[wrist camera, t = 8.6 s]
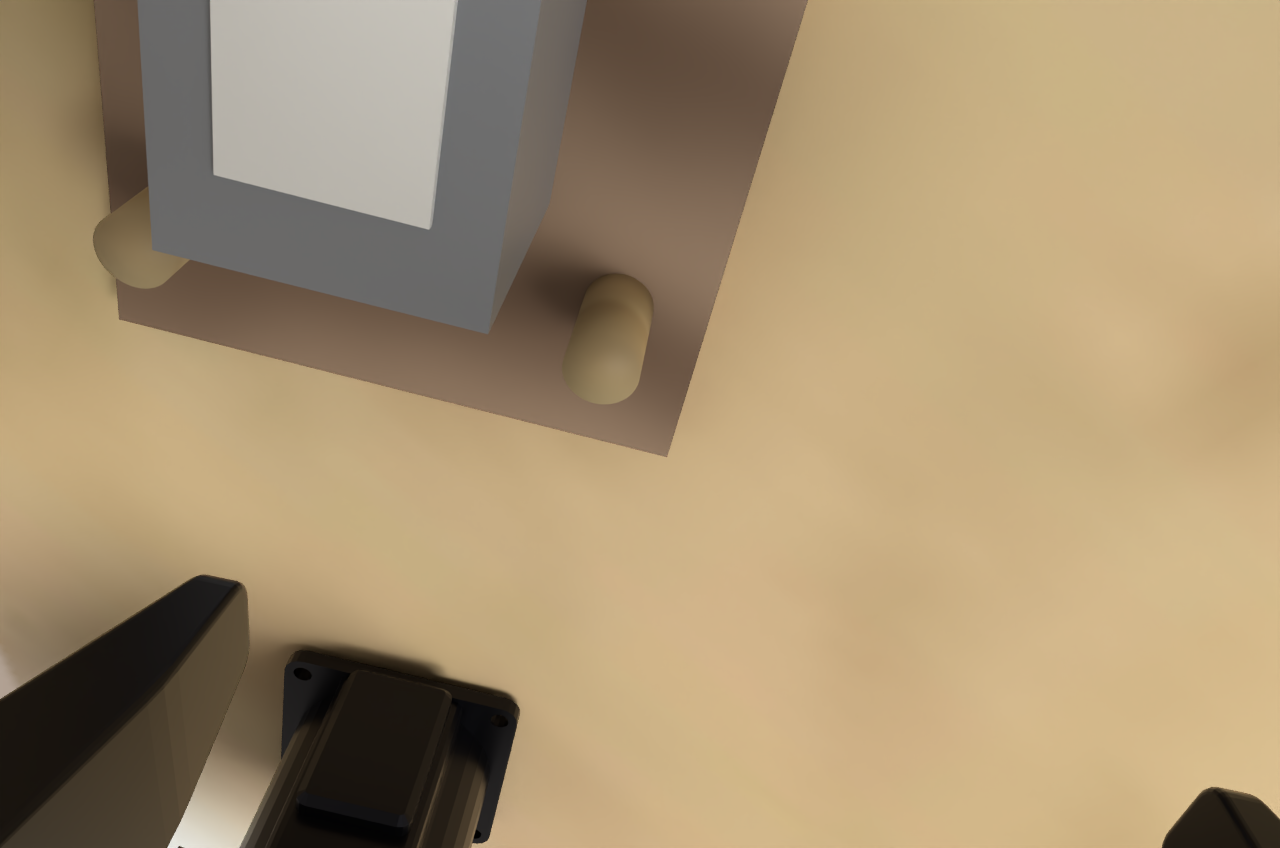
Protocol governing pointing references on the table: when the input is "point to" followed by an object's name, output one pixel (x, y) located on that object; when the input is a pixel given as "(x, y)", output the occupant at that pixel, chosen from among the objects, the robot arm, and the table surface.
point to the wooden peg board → (560, 251)
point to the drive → (358, 142)
